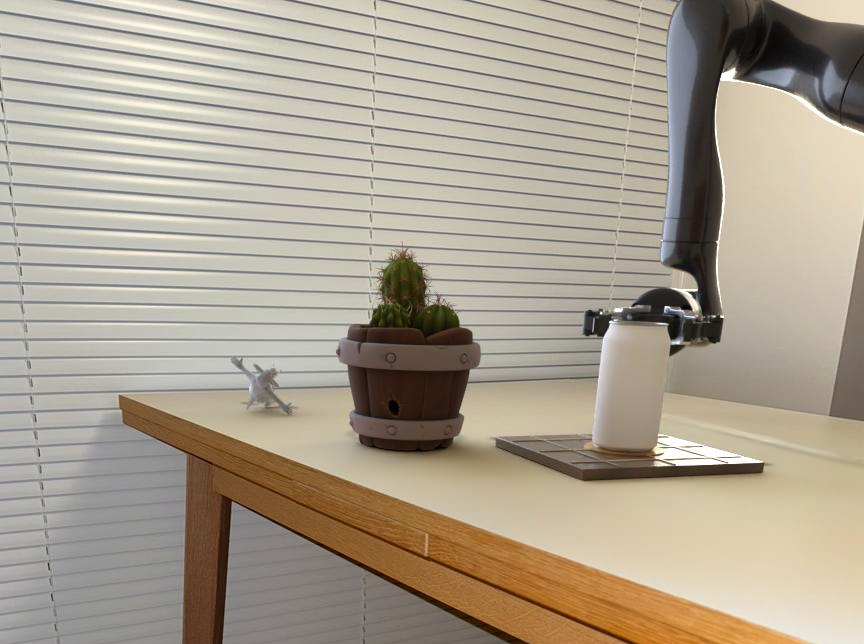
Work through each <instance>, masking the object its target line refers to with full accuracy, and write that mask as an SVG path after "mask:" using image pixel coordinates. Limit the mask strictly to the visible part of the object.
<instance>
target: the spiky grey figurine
mask: <svg viewBox="0 0 864 644" xmlns="http://www.w3.org/2000/svg"><path fill="white" fill-rule="evenodd" d="M243 360H244V356H241V358H240V359H238V358H237V357H236V356H235V355H233V356H231V357H230V363H231V364H233V365H234V367H236V368H237V369H238V370H240V371H241V372H242V373H243V374H244V375H245V376H246V377H247V378H248V379H249V382H250V383H249V387H248V395H249V396H250V399H249V401H248V402H247V404H246V408H245V409H246V410H248V409H249V408H250V407H251V406H252V405H253V403H254V402H258V403H263V406H265V407H270V406H271V405H272V404H273V403H274V402H275V403H276V404H277V405H278V406H279V407H280V409H281V411H282V412H284V413H286V414H287V415H291V414H293V413H294V409H292V408H291V407H290V406H291V405H292V404H293V402H289V403H285V402H284V401H283V400H282V399H281V398H280V397H279V396H278V395H277V394H276V393H275V388H277V389H278V388H280V384H279V383H278V382H277V380H275V379H276V378H277V377H278V376H279V374H281V372H282V370H283V369H280V370H279V371H278V372H277V368H276V367H274V366H275V362H272V364H271V365H270V366H269V368H267V369H263V368H262V367H260V366H259V365H258V364H257V363H255V362H254V363H252V366H253V368H254V369H255V370H256V372H257V373H258V374H257V375H256V374H255V373H253V372H252V371H250V370H249V369H248V368H246V366H245V365H244V364H243Z"/></svg>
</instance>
